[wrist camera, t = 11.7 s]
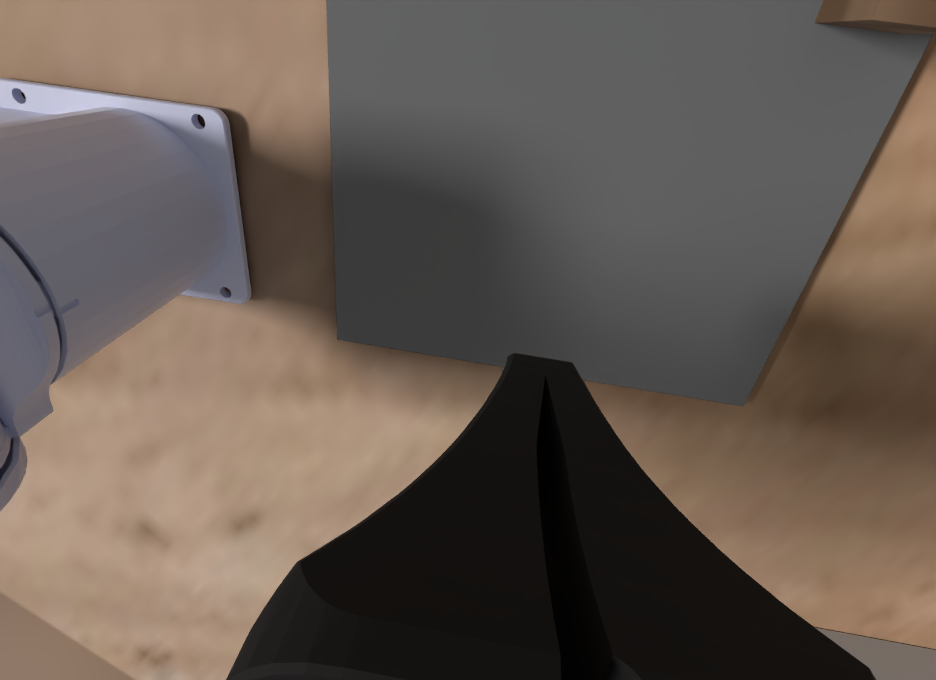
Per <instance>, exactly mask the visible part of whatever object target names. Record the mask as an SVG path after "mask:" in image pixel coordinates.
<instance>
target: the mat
mask: <svg viewBox="0 0 936 680" xmlns="http://www.w3.org/2000/svg"><path fill="white" fill-rule="evenodd" d="M822 3H823V0H326V6H327V37H328V68H329V99H330V131H331V162H332V193H333V225H334V256H335V287H336V318H337V340H343V341H349V342H355V343H361V344H367V345H373V346H379V347H385V348H391V349H397V350H403V351H410V352H416V353H422V354H428V355H434V356H440V357H446V358H452V359H458V360H464V361H470V362H476V363H483V364H489V365H495V366H501V367H505V365H506V362H507V357H508V356H509V355H511V354H513V353H518V354H524V355H531V356H537V357H543V358H549V359H555V360H561V361H567V362H572V363H573V364H574V366H575V367H576V369H577V371H578V373H579V374H580V376H581V378H582V380H586V381H592V382H598V383H604V384H610V385H616V386H623V387H629V388H635V389H641V390H647V391H653V392H659V393H665V394H671V395H677V396H683V397H690V398H696V399H702V400H708V401H714V402H720V403H726V404H732V405H738V406H744V404H745V402H746V400H747V398H748V396H749V395H750V393H751V391H752V389H753V387H754V385H755V383H756V381H757V379H758V377H759V375H760V373H761V371H762V369H763V367H764V365H765V363H766V361H767V359H768V357H769V355H770V353H771V351H772V349H773V347H774V345H775V343H776V342H777V340H778V338H779V336H780V334H781V332H782V330H783V328H784V326H785V324H786V322H787V320H788V318H789V316H790V314H791V312H792V310H793V308H794V306H795V304H796V302H797V300H798V298H799V296H800V294H801V292H802V291H803V289H804V287H805V285H806V283H807V281H808V279H809V277H810V275H811V273H812V271H813V269H814V267H815V265H816V263H817V261H818V259H819V257H820V255H821V253H822V251H823V249H824V247H825V245H826V243H827V241H828V240H829V238H830V236H831V234H832V232H833V230H834V228H835V226H836V224H837V222H838V220H839V218H840V216H841V214H842V212H843V210H844V208H845V206H846V204H847V202H848V200H849V198H850V196H851V194H852V192H853V190H854V188H855V187H856V185H857V183H858V181H859V179H860V177H861V175H862V173H863V171H864V169H865V167H866V165H867V163H868V161H869V159H870V157H871V155H872V153H873V151H874V149H875V147H876V145H877V143H878V141H879V139H880V137H881V136H882V134H883V132H884V130H885V128H886V126H887V124H888V122H889V120H890V118H891V116H892V114H893V112H894V110H895V108H896V106H897V104H898V102H899V100H900V98H901V96H902V94H903V92H904V90H905V88H906V86H907V84H908V83H909V81H910V79H911V77H912V75H913V73H914V71H915V69H916V67H917V65H918V63H919V61H920V59H921V57H922V55H923V53H924V51H925V49H926V47H927V45H928V43H929V41H930V39H931V37H932V35H933V34H900V33H892V32H884V31H876V30H868V29H860V28H852V27H844V26H836V25H828V24H819V23H815V20H816V18H817V15H818V13H819V10H820V8H821V5H822Z"/></svg>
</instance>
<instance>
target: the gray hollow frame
mask: <svg viewBox="0 0 936 680" xmlns="http://www.w3.org/2000/svg"><path fill="white" fill-rule="evenodd" d="M816 629H817V630H819V631H820V632H821V633H823V634H824V635H826V636H827V637H828V638H830V639H831V640H832V641H834V642H835V643H836V644H838V645H839V646H840V647H842V648H843V649H844V650H846V651H847V652H849V653H850V654H851V655H853V656H854V657H855V658H857V659H858V660H859V661H861V662H862V663H863V664H865V665H866V666H867V667H869V668H870V670H871V672H872V674H873V675H874V677H875V678H876V680H936V650H933V649H928V648H922V647H917V646H912V645H906V644H901V643H895V642H890V641H885V640H879V639H874V638H869V637H863V636H858V635H852V634H847V633H842V632H836V631H831V630H825V629H820V628H816Z"/></svg>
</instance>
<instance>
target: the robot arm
mask: <svg viewBox="0 0 936 680" xmlns="http://www.w3.org/2000/svg"><path fill="white" fill-rule="evenodd" d="M21 91H22V92H23V93H24V95H25V97H26V100H25V99H24V98H23V96H22V94H21ZM198 115H201V116H202V117H203V118H204V121H205V127H203V126H201V125H200V124H199V122H198ZM225 287H226V288H228V289H229V290H230V291H231V294H230V293H228V292H227V291H226V290H225ZM179 294H181V295H187V296H193V297H199V298H206V299H212V300H218V301H224V302H230V303H236V304H243V303H245V302H247V301H248V300H249V299H250V297H251V285H250V278H249V270H248V262H247V255H246V247H245V239H244V231H243V224H242V216H241V208H240V201H239V193H238V185H237V178H236V170H235V162H234V155H233V147H232V139H231V131H230V124H229V121H228V118H227V116H226V115H225V113H224V112H222V111H221V110H220V109H217V108H214V107H207V106H200V105H193V104H186V103H179V102H172V101H165V100H158V99H151V98H144V97H137V96H129V95H122V94H115V93H108V92H101V91H94V90H87V89H80V88H73V87H66V86H59V85H52V84H44V83H37V82H30V81H23V80H16V79H9V78H2V77H0V511H1V510H2V509H3V508H4V507H5V505H6V504H7V503H8V502H9V501H10V499H11V498H12V497H13V495H14V494H15V492H16V491H17V489H18V488H19V486H20V484H21V482H22V480H23V477H24V475H25V473H26V467H27V454H26V448H25V446H24V444H23V442H22V441H21V439H20V436H21V435H23V434H24V433H25V432H27V431H28V430H29V429H31V428H32V427H33V426H35V425H36V424H37V423H39V422H40V421H41V420H43V419H44V418H45V417H46V416H48V415H49V414H50V413H52V412H53V406H52V404H51V401H50V397H49V387H50V385H51V384H53V383H54V382H56V381H57V380H58V379H60V378H61V377H63V376H64V375H66V374H67V373H68V372H70V371H71V370H73V369H74V368H76V367H77V366H78V365H80V364H81V363H83V362H84V361H85V360H87V359H88V358H90V357H91V356H93V355H94V354H95V353H97V352H98V351H100V350H101V349H103V348H104V347H105V346H107V345H108V344H110V343H111V342H113V341H114V340H115V339H117V338H118V337H120V336H121V335H122V334H124V333H125V332H127V331H128V330H130V329H131V328H132V327H134V326H135V325H137V324H138V323H140V322H141V321H142V320H144V319H145V318H147V317H148V316H149V315H151V314H152V313H154V312H155V311H157V310H158V309H159V308H161V307H162V306H164V305H165V304H167V303H168V302H169V301H171V300H172V299H174V298H175V297H177V296H178V295H179ZM226 680H876V678H875V677H874V675H873V674H872V672H871V670H870V668H869V667H867V666H866V665H865V664H863V663H862V662H861V661H859V660H858V659H857V658H855V657H854V656H853V655H851V654H850V653H849V652H847V651H846V650H844V649H843V648H842V647H840V646H839V645H838V644H836V643H835V642H834V641H832V640H831V639H830V638H828V637H827V636H826V635H824V634H823V633H821V632H820V631H819V630H817V629H816V628H815V627H813V626H812V625H811V624H809V623H808V622H807V621H805V620H804V619H803V618H801V617H800V616H798V615H797V614H796V613H794V612H793V611H792V610H790V609H789V608H788V607H787V606H785V605H784V604H783V603H782V602H780V601H779V600H778V599H777V598H775V597H774V596H773V595H772V594H771V593H769V592H768V591H767V590H766V589H765V588H763V587H762V586H761V585H760V584H759V583H757V582H756V581H755V580H754V579H752V578H751V577H750V576H749V575H748V574H746V573H745V572H744V571H743V570H742V569H741V568H739V567H738V566H737V565H736V564H735V563H734V562H733V561H732V560H730V559H729V558H728V557H727V556H726V555H725V554H724V553H722V552H721V551H720V550H719V549H718V548H717V547H716V546H715V545H714V544H713V543H712V542H711V541H710V540H709V539H708V538H707V537H705V536H704V535H703V534H702V533H701V532H700V531H699V530H698V529H697V528H696V527H695V526H694V525H693V524H692V523H691V522H690V521H689V520H688V519H687V518H686V517H685V516H684V515H683V514H682V513H681V512H680V511H679V510H678V509H677V508H676V507H675V506H674V505H673V504H672V503H671V502H670V500H669V499H668V498H667V497H666V496H665V495H664V494H663V493H662V492H661V490H660V489H659V488H658V487H657V486H656V485H655V484H654V483H653V481H652V480H651V479H650V478H649V477H648V476H647V475H646V473H645V472H644V471H643V470H642V469H641V467H640V466H639V465H638V464H637V462H636V461H635V460H634V458H633V457H632V456H631V454H630V453H629V452H628V450H627V449H626V448H625V446H624V445H623V443H622V442H621V441H620V439H619V438H618V436H617V435H616V433H615V432H614V430H613V429H612V427H611V426H610V424H609V423H608V421H607V420H606V418H605V417H604V415H603V414H602V412H601V411H600V409H599V407H598V406H597V404H596V402H595V401H594V399H593V397H592V396H591V394H590V392H589V391H588V389H587V387H586V385H585V384H584V382H583V380H582V378H581V376H580V374H579V373H578V371H577V369H576V367H575V366H574V364H573V363H572V362H567V361H561V360H555V359H549V358H543V357H537V356H531V355H524V354H518V353H513V354H511V355H509V356H508V357H507V362H506V365H505V368H504V371H503V373H502V375H501V377H500V379H499V380H498V382H497V384H496V386H495V388H494V389H493V391H492V392H491V394H490V395H489V397H488V399H487V400H486V402H485V403H484V405H483V406H482V408H481V409H480V410H479V412H478V413H477V414H476V416H475V417H474V418H473V419H472V421H471V422H470V423H469V424H468V426H467V427H466V428H465V430H464V431H463V432H462V433H461V434H460V436H459V437H458V438H457V439H456V440H455V441H454V442H453V443H452V445H451V446H450V447H449V448H448V449H447V450H446V451H445V452H444V453H443V454H442V455H441V456H440V457H439V458H438V459H437V460H436V461H435V462H434V463H433V464H432V465H431V466H430V467H429V468H428V469H427V470H425V471H424V472H423V473H422V474H421V475H420V476H419V477H418V478H417V479H416V480H414V481H413V482H412V483H411V484H410V485H409V486H407V487H406V488H405V489H404V490H403V491H401V492H400V493H399V494H398V495H396V496H395V497H394V498H392V499H391V500H390V501H388V502H387V503H386V504H384V505H383V506H382V507H380V508H379V509H378V510H376V511H375V512H374V513H372V514H371V515H370V516H368V517H367V518H366V519H364V520H363V521H362V522H360V523H359V524H357V525H356V526H354V527H353V528H351V529H350V530H348V531H347V532H345V533H343V534H342V535H340V536H338V537H337V538H335V539H334V540H332V541H330V542H329V543H327V544H326V545H324V546H322V547H321V548H319V549H318V550H316V551H314V552H313V553H311V554H309V555H308V556H306V557H304V558H303V559H301V560H299V561H298V562H297V563H296V564H295V565H294V567H293V568H292V569H291V571H290V572H289V573H288V575H287V576H286V577H285V579H284V580H283V581H282V583H281V584H280V585H279V587H278V588H277V590H276V591H275V593H274V594H273V596H272V597H271V599H270V600H269V602H268V603H267V605H266V606H265V608H264V609H263V611H262V612H261V614H260V616H259V617H258V619H257V620H256V622H255V624H254V625H253V627H252V629H251V630H250V632H249V634H248V636H247V638H246V640H245V642H244V644H243V646H242V648H241V650H240V652H239V654H238V656H237V659H236V661H235V663H234V665H233V667H232V669H231V671H230V673H229V675H228V677H227V679H226Z"/></svg>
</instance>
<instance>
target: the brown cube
mask: <svg viewBox="0 0 936 680" xmlns="http://www.w3.org/2000/svg"><path fill="white" fill-rule="evenodd" d="M815 23H819V24H828V25H836V26H844V27H852V28H860V29H868V30H876V31H884V32H892V33H900V34H936V0H823V3H822V5H821V8H820V10H819V13H818V15H817V18H816V20H815Z"/></svg>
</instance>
